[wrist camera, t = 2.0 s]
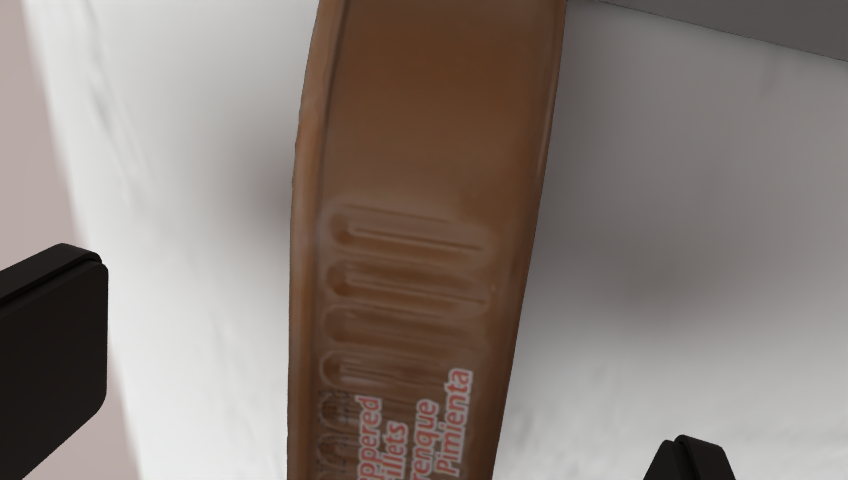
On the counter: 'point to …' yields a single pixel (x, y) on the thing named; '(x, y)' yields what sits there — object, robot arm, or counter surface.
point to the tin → (414, 231)
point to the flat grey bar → (764, 20)
